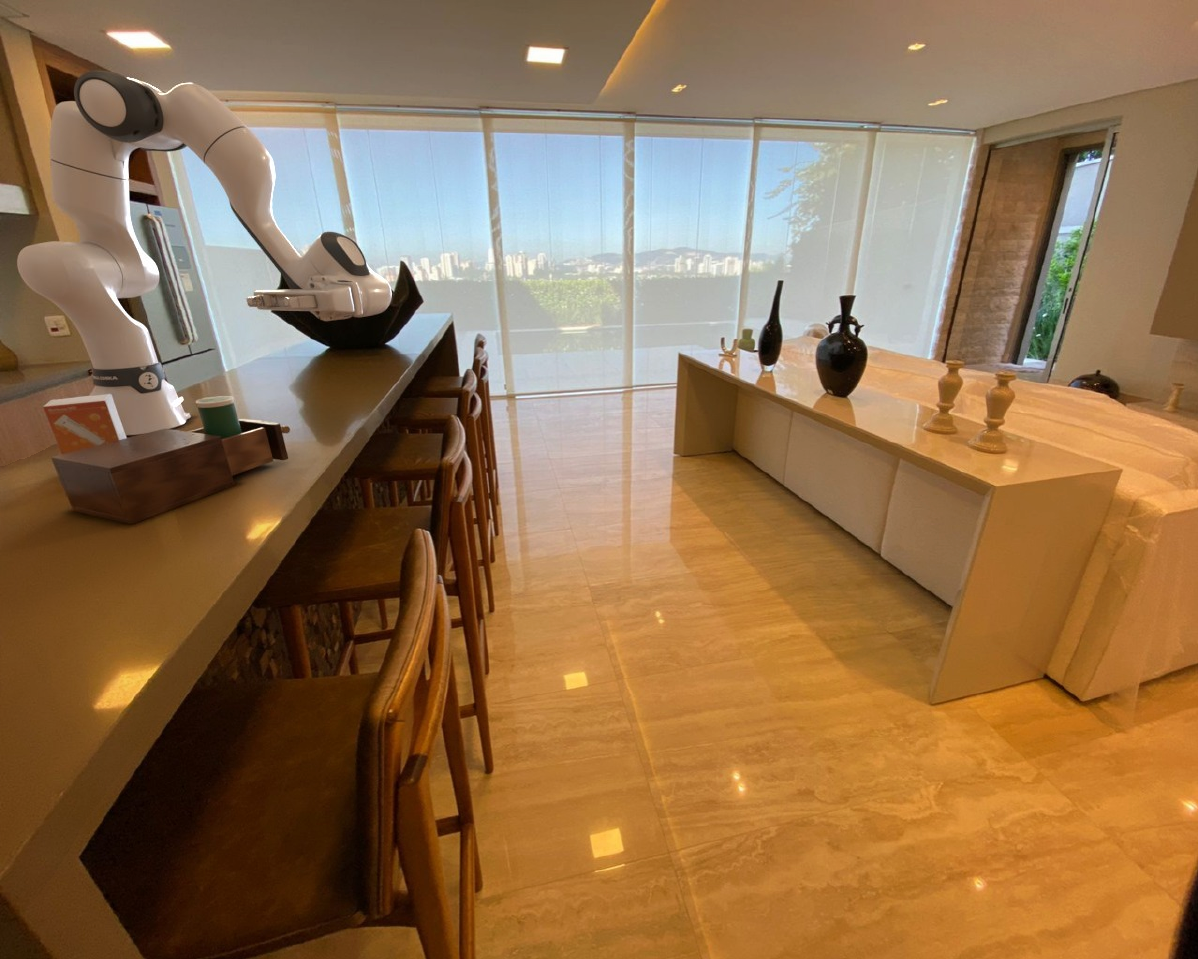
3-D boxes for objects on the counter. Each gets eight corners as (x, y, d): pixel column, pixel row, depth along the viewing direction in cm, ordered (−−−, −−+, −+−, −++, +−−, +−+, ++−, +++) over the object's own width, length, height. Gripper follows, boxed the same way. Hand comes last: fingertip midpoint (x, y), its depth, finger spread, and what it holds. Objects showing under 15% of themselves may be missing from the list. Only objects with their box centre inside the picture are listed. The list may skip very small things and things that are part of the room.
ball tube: (206, 463, 93) (187, 401, 89) (235, 453, 98) (218, 395, 94) (227, 466, 91) (209, 404, 87) (256, 456, 96) (240, 397, 92)
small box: (71, 479, 92) (40, 406, 87) (78, 469, 96) (50, 399, 92) (131, 470, 96) (105, 399, 91) (135, 460, 101) (111, 393, 96)
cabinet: (180, 475, 93) (165, 428, 90) (235, 485, 89) (221, 436, 85) (73, 511, 80) (50, 457, 76) (131, 524, 75) (109, 468, 72)
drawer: (260, 445, 106) (252, 412, 103) (307, 451, 102) (299, 417, 99) (161, 477, 90) (147, 439, 87) (211, 486, 86) (199, 447, 83)
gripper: (287, 282, 111) (223, 284, 99) (363, 282, 105) (305, 284, 93) (294, 313, 114) (232, 319, 102) (369, 315, 107) (313, 321, 95)
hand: (268, 302), depth 97 cm, fingers open, 8 cm apart
